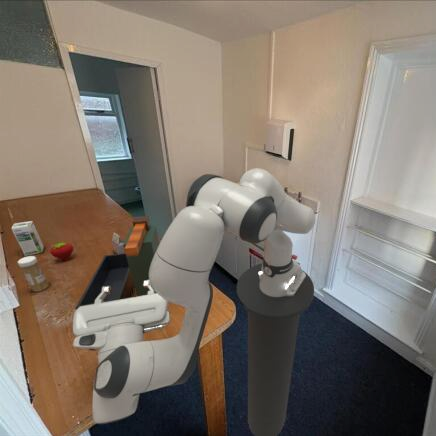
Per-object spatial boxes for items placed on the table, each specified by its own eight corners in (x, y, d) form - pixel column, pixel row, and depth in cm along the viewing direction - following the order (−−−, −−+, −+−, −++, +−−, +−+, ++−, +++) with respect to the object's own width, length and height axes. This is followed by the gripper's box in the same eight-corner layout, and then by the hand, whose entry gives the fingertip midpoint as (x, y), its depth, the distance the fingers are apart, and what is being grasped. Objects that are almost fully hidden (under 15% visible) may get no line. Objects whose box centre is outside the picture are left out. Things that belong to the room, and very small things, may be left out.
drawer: (124, 316, 81) (119, 300, 77) (82, 325, 76) (75, 307, 73) (140, 265, 105) (136, 251, 102) (109, 270, 101) (104, 255, 98)
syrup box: (24, 256, 104) (10, 228, 98) (27, 250, 109) (14, 222, 102) (42, 253, 108) (29, 225, 101) (44, 246, 112) (32, 220, 106)
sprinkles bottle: (49, 288, 89) (36, 259, 84) (32, 293, 86) (17, 264, 80) (48, 282, 92) (35, 254, 86) (31, 287, 89) (16, 258, 83)
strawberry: (78, 259, 106) (71, 240, 101) (55, 266, 101) (46, 246, 96) (75, 253, 109) (68, 235, 105) (53, 259, 104) (45, 240, 100)
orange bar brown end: (140, 255, 71) (138, 244, 69) (123, 257, 69) (120, 245, 67) (150, 225, 87) (148, 215, 86) (136, 226, 86) (134, 216, 84)
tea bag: (122, 248, 116) (118, 230, 112) (129, 253, 113) (124, 235, 108) (114, 251, 113) (109, 233, 109) (120, 256, 110) (115, 238, 105)
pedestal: (163, 299, 89) (151, 241, 78) (139, 303, 86) (123, 244, 75) (166, 279, 99) (155, 225, 88) (144, 282, 96) (131, 227, 85)
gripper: (168, 324, 58) (168, 272, 65) (63, 347, 51) (76, 286, 58) (171, 329, 63) (171, 280, 70) (77, 351, 56) (87, 294, 63)
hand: (127, 283), depth 64 cm, fingers open, 8 cm apart
